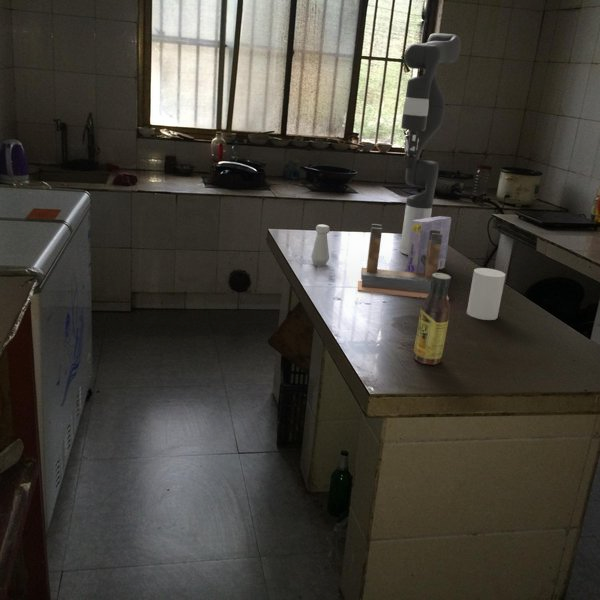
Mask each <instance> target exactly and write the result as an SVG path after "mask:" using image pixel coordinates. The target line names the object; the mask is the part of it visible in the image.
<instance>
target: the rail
mask: <svg viewBox="0 0 600 600" xmlns="http://www.w3.org/2000/svg"><path fill="white" fill-rule="evenodd" d="M361 281H362V287H367V288H377V289H387V290H396V291H406V292H416V293H426V294H429V291H430V287H431V279H426V278H416V277H406V276H396V275H386V274H376V273H366V272H363V276H362V279H361Z"/></svg>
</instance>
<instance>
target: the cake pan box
mask: <svg viewBox="0 0 600 600" xmlns="http://www.w3.org/2000/svg"><path fill="white" fill-rule="evenodd" d="M451 224H452V217H450V216H442V215H439V216H433V217H432V216H431V218H424V219H418V220H412V228H411V236H410V245H409V253H408V256H407V262H406V271H405V272H411V273H421V274H424V268H425V262H426V255H427V248H428V241H429V234H430V230H440V234H442V241H441V248H440V254H439V261H438V267H437V271H439V269H440V270H444V269H445V267H446V261H447V259H446V258H447V253H448V247H449V246H448V245H449V240H450V239H449V238H450V231H451ZM443 268H444V269H443Z"/></svg>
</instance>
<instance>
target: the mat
mask: <svg viewBox="0 0 600 600" xmlns="http://www.w3.org/2000/svg"><path fill="white" fill-rule="evenodd" d="M357 291H358V292H361V291H364V292H365V293H371V292H373V293H374V294H380V295H381V294H384V295H392V296H403V297H412V298H420V297H421V299H426V298H427V296H428V294H426V293H416V292H406V291H396V290H387V289H377V288H367V287H362V280H357ZM364 292H363V293H364ZM373 293H372V294H373ZM447 300H448V301H449V300H450V298H449V296H448V295H447Z"/></svg>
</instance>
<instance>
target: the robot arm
mask: <svg viewBox="0 0 600 600" xmlns="http://www.w3.org/2000/svg"><path fill="white" fill-rule="evenodd" d="M461 46H462V45H461V38H460V37H459V35H457V34H452V33H435V32H434V33H431V34H430V35H429V37H428V39H427V42H425V43H423V42H422V43H419V42H416V43H411V44H409V45H408V46H407V48H406V49H405V52H404V57H403V59H404V63H405V65H406V66H407V67H408V68H410V69H413V70H415V69H416V70H417V69H418V70H423V74H422V75H420V76H413V77H411V78H410V77H409V78H408V81H407V83H406V91H405V99H404V103H403V110H402V117H401V124H400V127H401V129H402V130H408V131H407V132H406V135H404V136H405V137H404V141H405V142H404V161H403V165H404V166H405V168H406V169H405V183H406V185H408V186H411V187H419V188H425V189H424V191H423V192H421V193H418V194H413V195H410V196H407V199H406V202H405V210H404V219H403V224H402V232H401V239H400V240H401V241H400V247H399V249H400V250H399V252H400V253H401V254H404V255H406V256H407V255H408V253H409V245H410V236H411V228H412V220H418V219H424V218H431V217H432V211H433V210H432V209H433V204H434V198H435V191H436V186H437V182H438V177H439V176H438V175H439V168H440V167H439V163H438V162H437V161H434V160H425V159H419V158H420V156H421V153H422V150H423V149H424V148H425V146H426V144H427V143H428V142H429V141H430V139H431V138H432V137H433V136H434V134H436V133H437V131H438V130H439V129H440V128H441V125H442V124H443V120H444V117H445V110H446V109H445V108H446V100H445V97H444V93H443V92H442V90H441V88H440V85H439V83H438V79H437V77H436V71H437V69H438V66H439V64H453V63H455V62H457V60H458V59H459V57H460V53H461V49H462V48H461Z"/></svg>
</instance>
